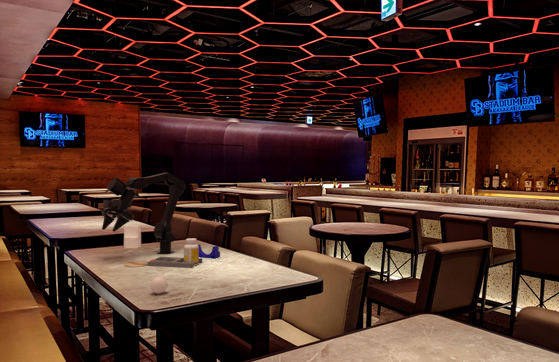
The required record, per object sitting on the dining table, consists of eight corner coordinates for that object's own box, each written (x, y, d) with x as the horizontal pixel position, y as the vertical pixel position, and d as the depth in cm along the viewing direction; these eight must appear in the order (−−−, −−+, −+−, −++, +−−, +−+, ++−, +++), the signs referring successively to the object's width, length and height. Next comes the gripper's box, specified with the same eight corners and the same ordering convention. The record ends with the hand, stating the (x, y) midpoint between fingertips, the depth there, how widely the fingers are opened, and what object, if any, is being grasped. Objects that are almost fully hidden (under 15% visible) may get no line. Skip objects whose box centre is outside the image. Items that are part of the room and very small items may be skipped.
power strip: (160, 260, 188) (160, 255, 188) (202, 262, 185) (202, 257, 185) (147, 265, 177) (147, 260, 177) (192, 267, 173) (192, 262, 173)
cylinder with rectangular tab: (120, 248, 220) (120, 226, 220) (129, 245, 229) (129, 224, 229) (135, 248, 219) (135, 227, 219) (143, 246, 228) (143, 225, 228)
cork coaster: (132, 261, 186) (132, 260, 186) (154, 262, 184) (154, 261, 184) (119, 266, 175) (119, 265, 175) (142, 267, 173) (142, 266, 173)
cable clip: (220, 257, 197) (220, 245, 197) (215, 259, 193) (215, 247, 193) (199, 255, 201) (199, 243, 201) (194, 257, 197) (194, 245, 197)
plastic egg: (167, 295, 133) (167, 278, 133) (149, 296, 132) (150, 279, 132) (167, 288, 141) (167, 273, 140) (150, 290, 139) (150, 274, 139)
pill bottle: (201, 263, 181) (201, 238, 181) (193, 266, 175) (193, 240, 175) (188, 262, 184) (188, 237, 183) (181, 265, 177) (181, 239, 177)
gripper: (101, 191, 189) (83, 220, 183) (122, 192, 178) (104, 223, 171) (119, 203, 197) (103, 231, 190) (141, 205, 185) (124, 235, 179)
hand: (108, 230), depth 183 cm, fingers open, 9 cm apart
